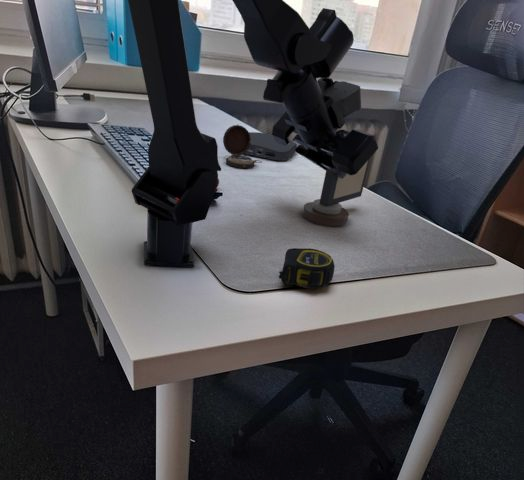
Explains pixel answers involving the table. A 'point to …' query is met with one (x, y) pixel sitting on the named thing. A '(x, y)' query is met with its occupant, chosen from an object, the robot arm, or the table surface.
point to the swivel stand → (325, 216)
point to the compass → (238, 147)
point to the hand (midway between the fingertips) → (338, 174)
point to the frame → (340, 190)
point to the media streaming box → (269, 147)
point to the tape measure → (307, 268)
